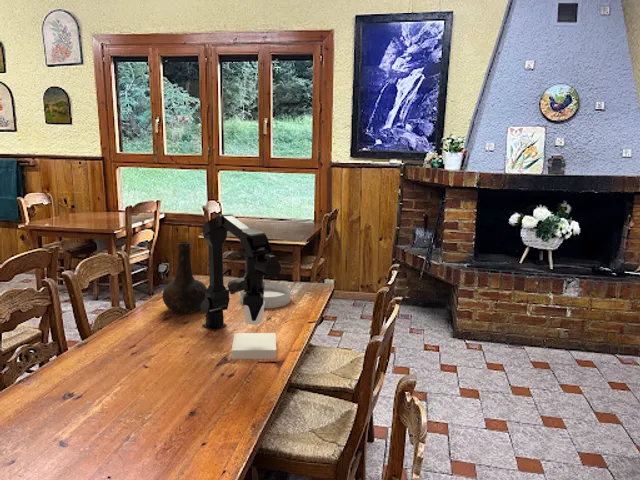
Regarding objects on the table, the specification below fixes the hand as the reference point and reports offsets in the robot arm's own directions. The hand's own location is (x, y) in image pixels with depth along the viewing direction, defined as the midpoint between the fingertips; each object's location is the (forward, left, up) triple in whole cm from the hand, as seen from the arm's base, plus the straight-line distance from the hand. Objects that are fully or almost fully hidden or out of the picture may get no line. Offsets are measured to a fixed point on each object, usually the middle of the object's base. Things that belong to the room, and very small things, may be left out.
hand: (254, 317), depth 157 cm
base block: (0, 0, -11) cm, 11 cm away
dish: (-35, +39, -12) cm, 54 cm away
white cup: (0, 0, -2) cm, 2 cm away
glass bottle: (-48, +7, -12) cm, 50 cm away
